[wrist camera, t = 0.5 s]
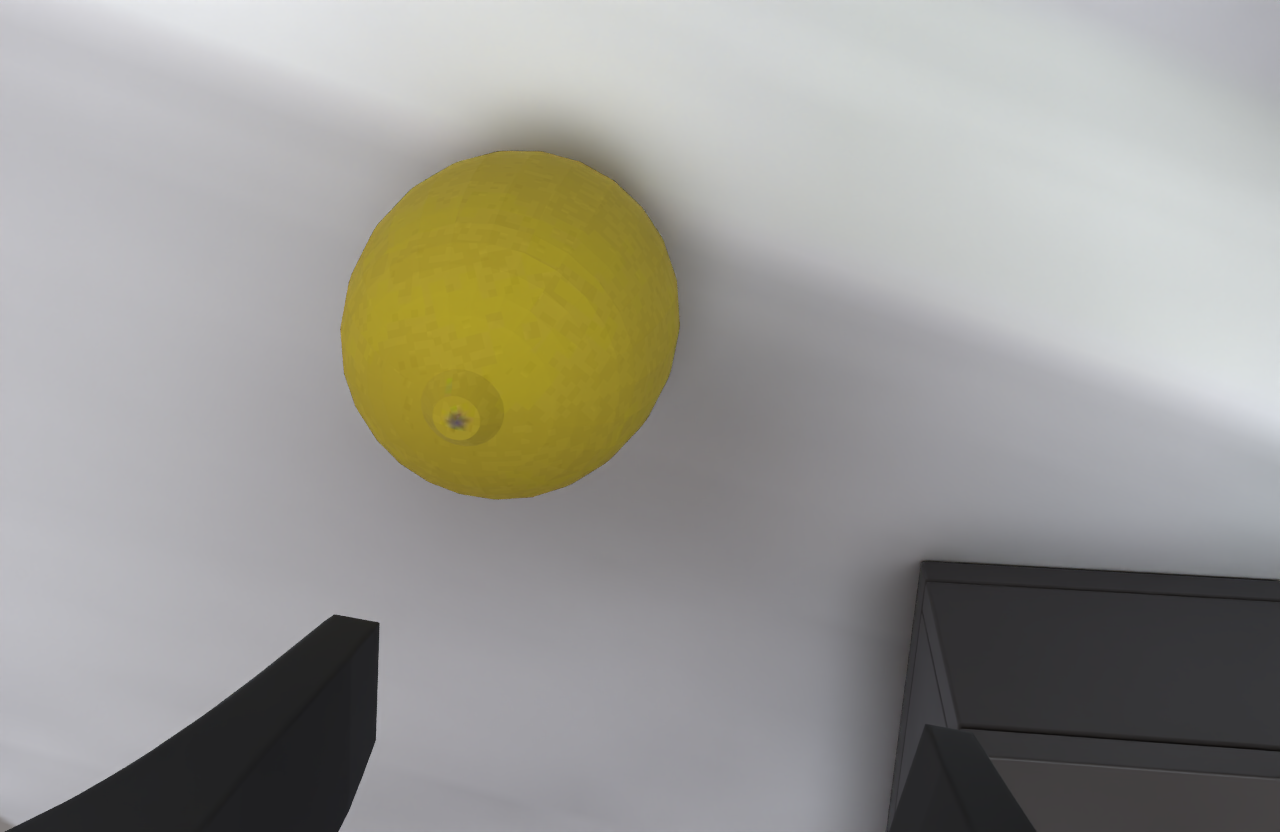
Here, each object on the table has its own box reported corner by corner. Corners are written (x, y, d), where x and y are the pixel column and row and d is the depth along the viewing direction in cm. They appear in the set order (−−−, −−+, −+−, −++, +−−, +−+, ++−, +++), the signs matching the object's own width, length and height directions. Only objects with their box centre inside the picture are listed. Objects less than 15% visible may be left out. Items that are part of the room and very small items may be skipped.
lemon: (470, 391, 23) (335, 605, 16) (397, 142, 21) (201, 261, 14) (715, 355, 22) (688, 567, 15) (666, 88, 20) (607, 188, 13)
